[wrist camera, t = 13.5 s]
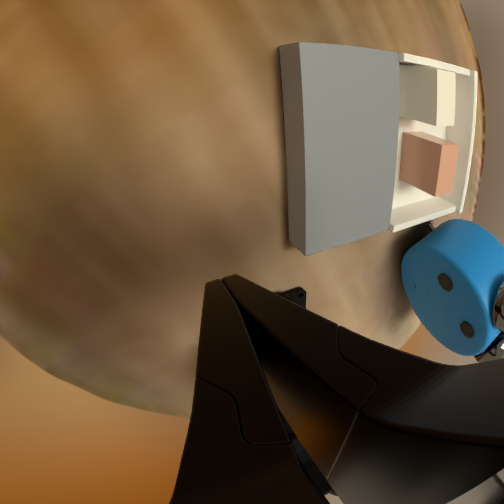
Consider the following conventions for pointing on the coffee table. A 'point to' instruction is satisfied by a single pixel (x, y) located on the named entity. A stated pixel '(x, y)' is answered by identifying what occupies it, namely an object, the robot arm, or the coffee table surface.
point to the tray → (411, 198)
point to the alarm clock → (459, 288)
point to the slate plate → (339, 142)
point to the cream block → (427, 95)
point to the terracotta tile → (428, 162)
